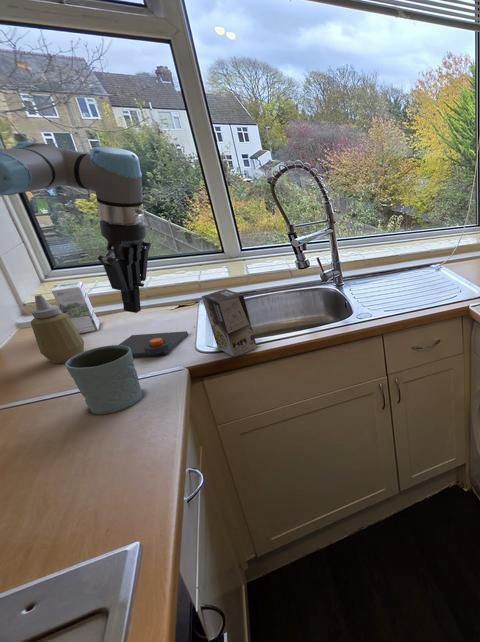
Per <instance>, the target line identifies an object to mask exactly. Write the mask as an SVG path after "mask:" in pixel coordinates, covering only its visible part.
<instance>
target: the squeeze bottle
mask: <svg viewBox="0 0 480 642" xmlns="http://www.w3.org/2000/svg"><path fill="white" fill-rule="evenodd" d="M34 301H35V308H34V309H32V310H31V311H30V313H31V314H32V317H33V318H32V319H31V320H30V325H31V328H32V329H31V330H32V332H33V334H34V338H35V341H36V344H37V347H38V350H39V353H40V354H41V355H42V356H44V358H46V359H47V360H48V361H49V362H51V363H52V364H65V363H66V362H67V361H68V360H69V359H70V358H72V357H73V356H75V355H77V354H79V353H82V352H85V351H84V349H85V341H84V339H83V337H82V335H81V334H79V333H78V331H77V329H76V328H75V326H74V325H73V323H72V322H71V320H70V318H69V317H68V315H67V314H65V313H62V312H61V310H60V308H59V306H58V305H56V304H55V305H53V304H52V305H51V304H50V302H48V300H47V299H46V297H44V295H42V294H35V295H34Z"/></svg>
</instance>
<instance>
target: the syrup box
mask: <svg viewBox="0 0 480 642" xmlns="http://www.w3.org/2000/svg"><path fill="white" fill-rule="evenodd" d="M51 293H52V295H53V297H54V299H55V302H56V303H57V306H58V308H59V310H60V312H61V313H65V314H67V315H68V317H69V318H70V320H71V322H72V323H73V325H74V326H75V328H76V329H77V331H78V333H79V334H80V335H82V334H86V333H91V332H97V331H99V329H100V321H99V319H98V317H97V316H96V313H95V310H94V308H93V305H92V303H91V301H90V299H89V296H88V294H87V291H86V288H85V286H84V284H83V282H82V281H81V280H80V281H75V282H73V281H72V282H67V283H60V284H54V285H53V286H52V289H51Z"/></svg>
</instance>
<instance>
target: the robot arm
mask: <svg viewBox="0 0 480 642" xmlns="http://www.w3.org/2000/svg"><path fill="white" fill-rule="evenodd" d="M142 178H143V174H142V171H141V166H140V159H139V157H138V156H137V154H136V153H134V152H132V151H130V150H127V149H123V148H120V147H112V146H94V147H92V148H91V149H90V153H85V152H82V151H77V150H72V149H67V148H63V147H58V146H54V145H50V144H48V143H44V142H42V143H41V142H40V143H39V142H33V141H27V140H26V141H24V140H23V141H19V142H17V143H16V145H12V147H11V148H0V196H14V195H17V194H21V193H25V192H31V191H36V190H42V189H48V188H54V187H60V186H64V187H65V186H66V187H72V188H77V189H82V190H88V191H94V193H95V196H96V205H97V215H98V216H97V217H98V218H99V219H100V220H99V226H100V235H101V236H102V238H104V239H105V240H107V244H106V250H107V252H106V253H105V255H102V254H100V255H98V257H97V260H98V261H99V262H100V263H101V264H102V266H103V269H104V271H105V274H106V277H107V279H108V281H109V284H110V286H111V289H112V290H116V291H120V295H121V300H122V305H123V312H127V313H128V312H129V313H134V314H138V313H139V312H141V311H142V308H141V298H140V294H141V293H140V292H141V291H140V288H144V286H145V283H143V282H146V280H147V273H148V272H147V271H148V261H149V252H150V248H151V245H152V244H151V242H149V241H144V239H146V237H147V228H146V222H145V220H146V218H145V210H144V199H143V198H144V197H143V181H142Z"/></svg>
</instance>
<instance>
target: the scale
mask: <svg viewBox="0 0 480 642" xmlns="http://www.w3.org/2000/svg"><path fill="white" fill-rule="evenodd" d="M188 336H189V333H188V331H187V330H184V331H171V332H158V333H156V332H155V333H144V334H143V333H142V334H131V335H130V336H129V337H127V338H126V339H124V340H123V341H122V342H120V343H119V344H118V345H124V346H128V347H129V348H130V349H131V352H132V356H133V359H134V358H136V359H137V358H147V357H159V356H167V354H169V353H170V352H171V351H172V350H173V349H175V348H176V347H177V346H178V345H179V344H180V343H181V342H182V341H184V339H186V338H187V337H188ZM155 338H162V340H163V343H164V344H162V345H160V346H156V347H151V344H150V340H152V339H155Z"/></svg>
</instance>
